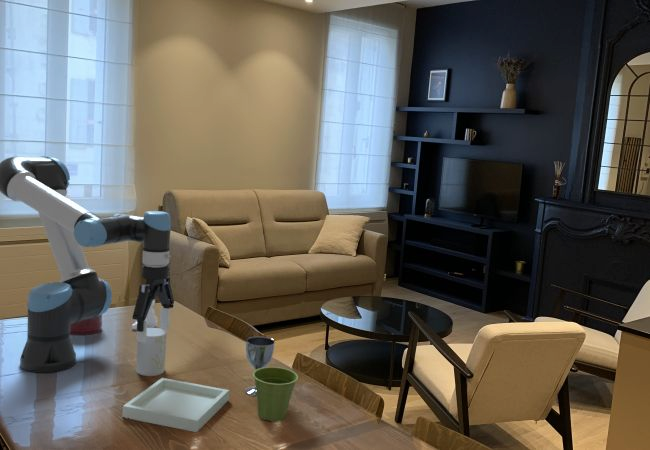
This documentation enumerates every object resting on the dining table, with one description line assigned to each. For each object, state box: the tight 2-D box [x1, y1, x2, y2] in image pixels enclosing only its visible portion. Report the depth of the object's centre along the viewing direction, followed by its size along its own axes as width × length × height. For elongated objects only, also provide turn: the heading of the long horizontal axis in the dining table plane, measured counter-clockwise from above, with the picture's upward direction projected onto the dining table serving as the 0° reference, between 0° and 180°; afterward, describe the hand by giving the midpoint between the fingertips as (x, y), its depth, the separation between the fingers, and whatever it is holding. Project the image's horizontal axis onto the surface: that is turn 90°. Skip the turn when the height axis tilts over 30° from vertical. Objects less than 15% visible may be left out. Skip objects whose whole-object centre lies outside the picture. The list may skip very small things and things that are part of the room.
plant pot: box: [252, 366, 299, 422], centre depth 163 cm, size 12×12×11 cm
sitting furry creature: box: [131, 298, 159, 331], centre depth 226 cm, size 10×9×12 cm
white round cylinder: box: [136, 327, 168, 377], centre depth 186 cm, size 8×8×12 cm
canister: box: [70, 314, 103, 336], centre depth 216 cm, size 13×13×18 cm
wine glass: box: [243, 335, 276, 398], centre depth 177 cm, size 8×8×15 cm
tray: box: [122, 377, 230, 433], centre depth 163 cm, size 20×20×3 cm
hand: (153, 335), depth 185 cm, fingers open, 13 cm apart
